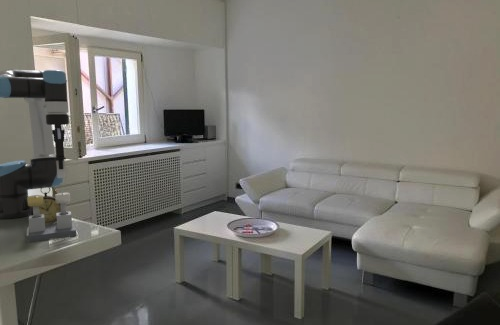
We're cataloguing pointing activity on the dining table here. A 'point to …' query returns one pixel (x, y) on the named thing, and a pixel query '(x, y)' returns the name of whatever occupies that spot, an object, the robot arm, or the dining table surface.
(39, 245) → the dining table surface
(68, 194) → the knob ivory
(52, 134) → the robot arm
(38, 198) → the knob mustard
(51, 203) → the alarm clock
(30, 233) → the mount
